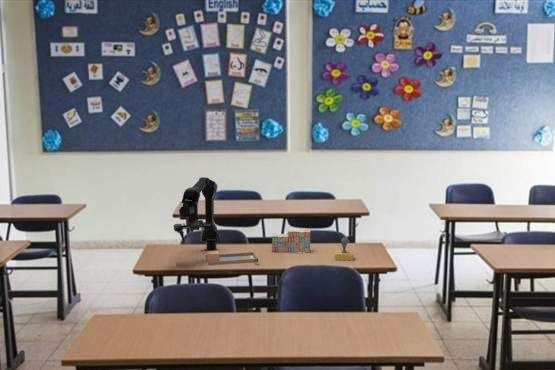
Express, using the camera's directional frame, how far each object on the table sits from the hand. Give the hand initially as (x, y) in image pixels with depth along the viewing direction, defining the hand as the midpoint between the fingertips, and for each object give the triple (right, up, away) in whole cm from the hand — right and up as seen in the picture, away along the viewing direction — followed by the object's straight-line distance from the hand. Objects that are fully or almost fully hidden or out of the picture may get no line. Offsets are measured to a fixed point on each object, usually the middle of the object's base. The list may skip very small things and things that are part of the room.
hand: (192, 242), depth 326 cm
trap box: (+20, -11, +7) cm, 24 cm away
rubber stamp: (+80, -10, +13) cm, 82 cm away
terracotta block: (+10, -10, +7) cm, 15 cm away
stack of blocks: (+52, -8, +28) cm, 59 cm away
